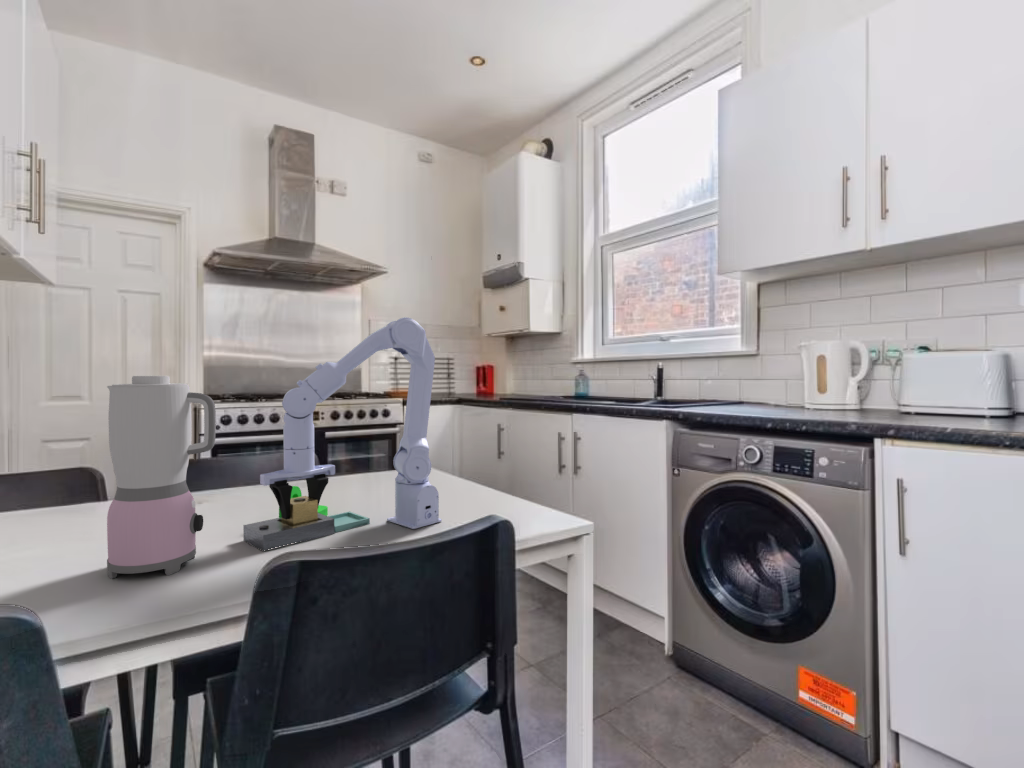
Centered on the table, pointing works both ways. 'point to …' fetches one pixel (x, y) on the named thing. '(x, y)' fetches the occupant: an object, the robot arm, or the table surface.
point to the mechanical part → (297, 493)
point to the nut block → (302, 511)
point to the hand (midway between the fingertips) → (299, 515)
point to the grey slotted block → (285, 532)
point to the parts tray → (348, 521)
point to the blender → (153, 474)
